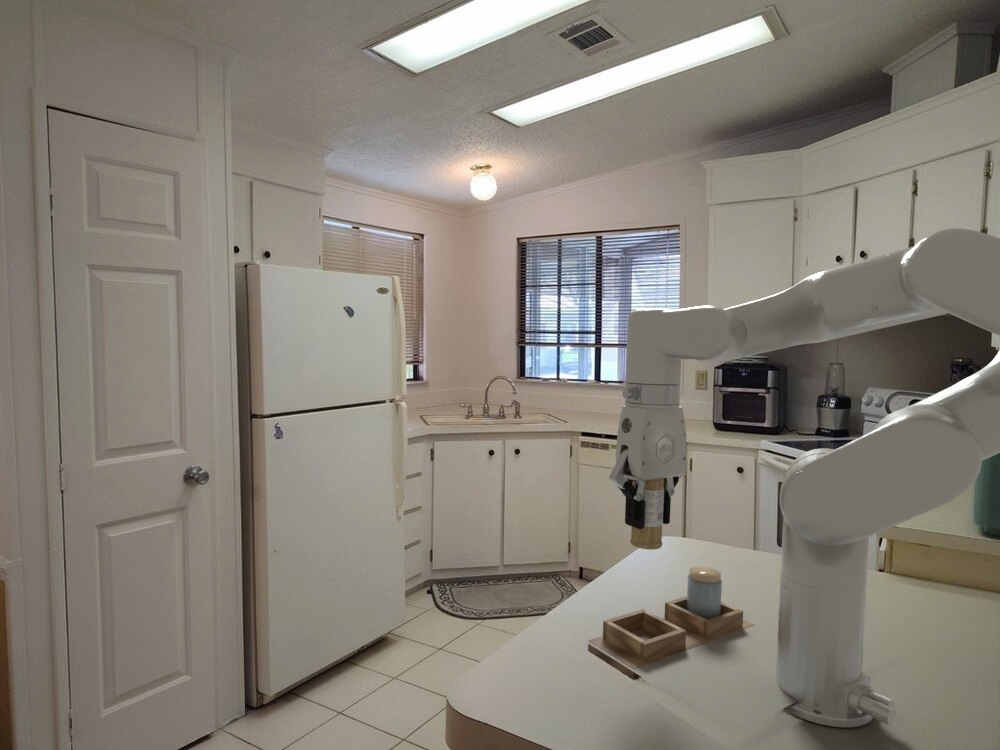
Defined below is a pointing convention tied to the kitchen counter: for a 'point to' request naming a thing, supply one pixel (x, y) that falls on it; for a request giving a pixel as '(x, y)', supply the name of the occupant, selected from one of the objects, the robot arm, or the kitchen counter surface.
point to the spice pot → (704, 592)
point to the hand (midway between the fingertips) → (647, 522)
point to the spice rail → (661, 634)
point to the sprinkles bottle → (650, 516)
